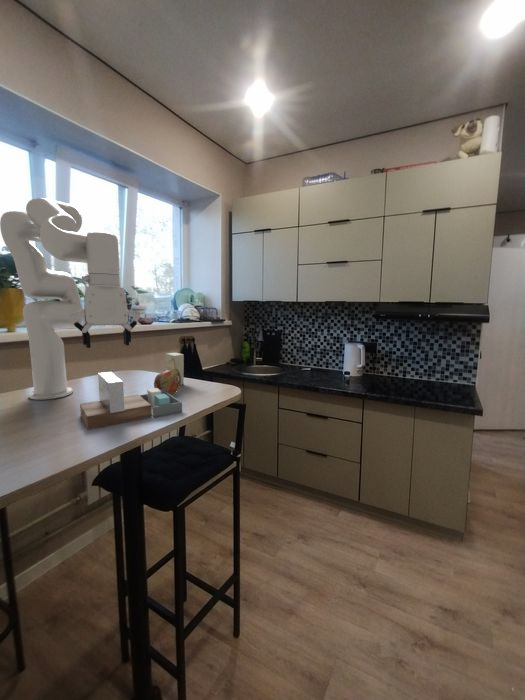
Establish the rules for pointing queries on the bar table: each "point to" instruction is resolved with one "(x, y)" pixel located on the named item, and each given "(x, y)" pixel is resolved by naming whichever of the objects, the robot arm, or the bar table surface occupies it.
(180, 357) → the skincare box
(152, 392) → the tile white
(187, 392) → the bar table surface
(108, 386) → the grey rectangular block
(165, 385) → the tin
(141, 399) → the board
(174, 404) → the box
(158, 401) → the teal block
